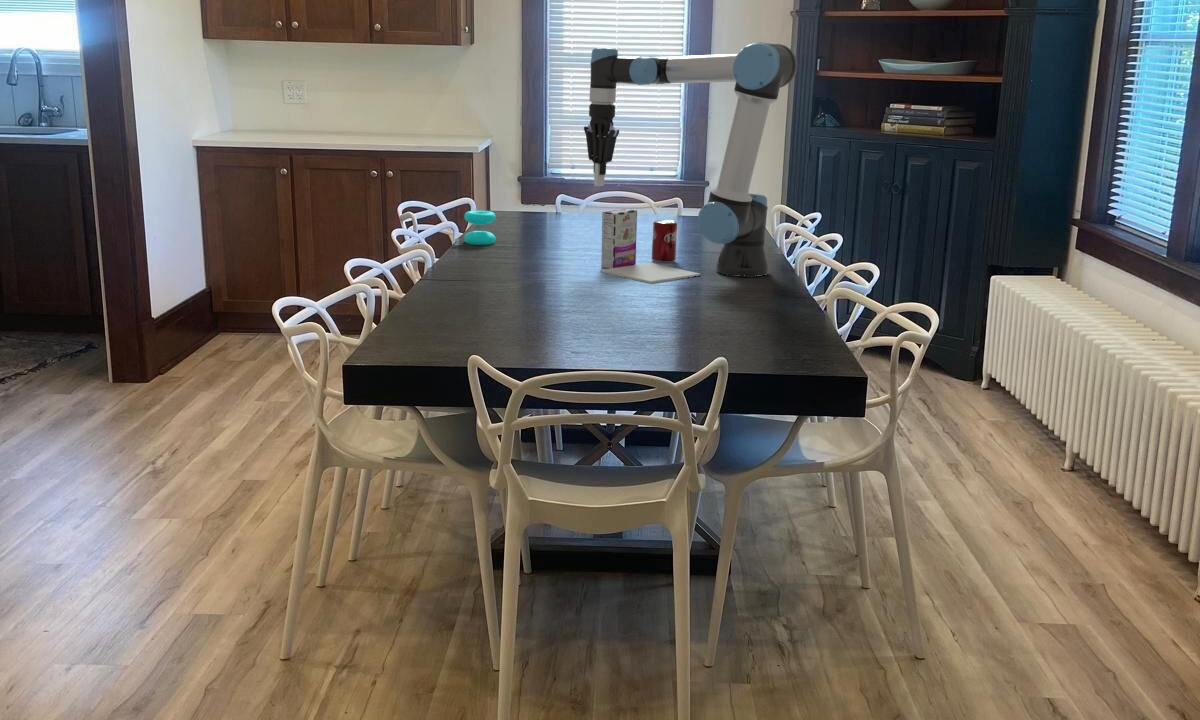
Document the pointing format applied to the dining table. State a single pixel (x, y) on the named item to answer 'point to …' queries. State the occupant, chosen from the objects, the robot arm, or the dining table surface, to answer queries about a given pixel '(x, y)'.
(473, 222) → the donuts
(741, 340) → the dining table surface
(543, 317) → the dining table surface
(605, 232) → the candy bar box
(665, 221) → the soda can
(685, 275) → the mat
